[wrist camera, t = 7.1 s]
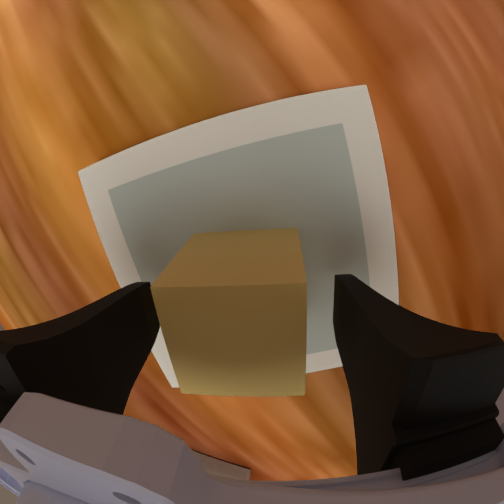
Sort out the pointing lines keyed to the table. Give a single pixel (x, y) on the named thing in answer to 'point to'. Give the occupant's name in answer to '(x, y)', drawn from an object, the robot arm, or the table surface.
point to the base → (257, 198)
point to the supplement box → (223, 468)
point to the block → (236, 313)
